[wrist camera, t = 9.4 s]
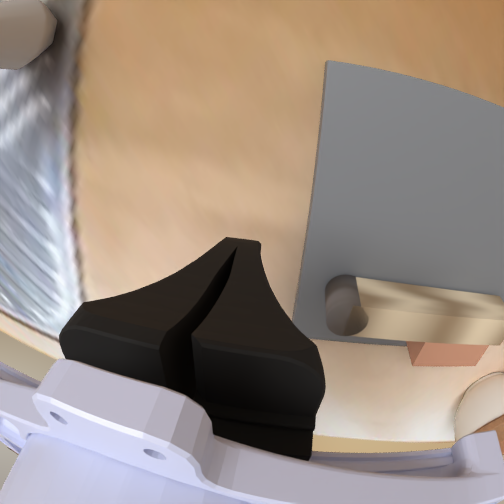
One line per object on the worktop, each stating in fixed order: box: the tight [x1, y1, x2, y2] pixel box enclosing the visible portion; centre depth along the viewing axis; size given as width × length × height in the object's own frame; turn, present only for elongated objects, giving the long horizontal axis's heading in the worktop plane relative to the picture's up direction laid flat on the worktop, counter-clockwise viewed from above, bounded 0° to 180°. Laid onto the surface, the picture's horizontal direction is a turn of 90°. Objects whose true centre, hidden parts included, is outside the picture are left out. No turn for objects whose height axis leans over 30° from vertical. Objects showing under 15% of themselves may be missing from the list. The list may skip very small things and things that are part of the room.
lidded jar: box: [454, 372, 504, 455], centre depth 24 cm, size 11×11×9 cm
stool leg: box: [325, 274, 504, 345], centre depth 19 cm, size 14×3×3 cm, turn 86°
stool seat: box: [292, 60, 504, 366], centre depth 18 cm, size 19×18×5 cm
